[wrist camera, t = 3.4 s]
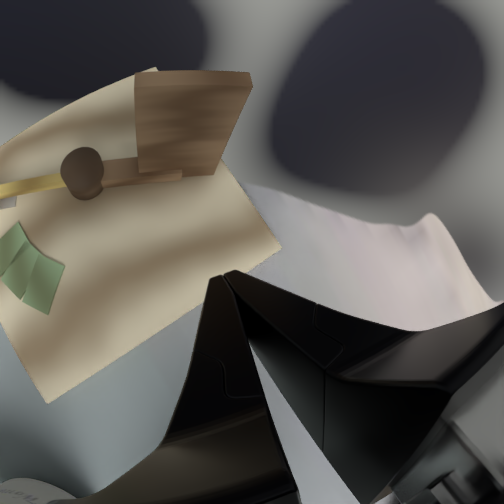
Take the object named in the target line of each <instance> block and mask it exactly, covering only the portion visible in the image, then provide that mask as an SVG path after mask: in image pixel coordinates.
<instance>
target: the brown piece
mask: <svg viewBox="0 0 504 504" xmlns="http://www.w3.org/2000/svg"><path fill="white" fill-rule="evenodd" d="M252 88H253V85H252V81H251V77H250V73H248V72H233V71H205V70H200V71H199V70H186V71H185V70H182V71H154V72H140V73H135V79H134V106H135V127H136V143H137V156H138V157H131V158H122V159H113V160H105V161H102V160H101V157H100V155H99V153H98V152H97V151H96V150H95V149H93V148H90V147H80V148H77V149H74V150H73V151H71V152H70V153H69V154H68V155H67V156H66V157H65V158H64V160H63V162H62V164H61V168H60V173H56V174H50V175H44V176H39V177H34V178H29V179H24V180H19V181H15V182H10V183H6V184H1V185H0V199H4V198H8V197H13V196H18V195H23V194H28V193H34V192H39V191H45V190H50V189H56V188H62V187H67V188H68V189H69V191H70V192H71V194H72V195H73V196H74V197H75V198H77V199H79V200H90V199H93V198H95V197H96V196H98V195H99V194H100V193H101V192H102V191H103V189H104V188H111V187H119V186H128V185H137V184H147V183H157V182H168V181H180V180H181V177H192V176H208V175H214V173H215V171H216V168H217V166H218V163H219V161H220V159H221V156H222V154H223V152H224V149H225V147H226V145H227V142H228V140H229V138H230V136H231V133H232V131H233V129H234V127H235V124H236V122H237V120H238V118H239V115H240V113H241V111H242V109H243V107H244V105H245V103H246V100H247V98H248V96H249V94H250V92H251V90H252Z"/></svg>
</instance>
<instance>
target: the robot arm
mask: <svg viewBox="0 0 504 504" xmlns="http://www.w3.org/2000/svg"><path fill="white" fill-rule="evenodd" d="M249 343H250V345H251V347H252V348H253V350H254V352H255V353H256V355H257V356H258V358H259V359H260V361H261V362H262V364H263V366H264V367H265V369H266V370H267V372H268V373H269V375H270V376H271V378H272V379H273V381H274V383H275V384H276V386H277V387H278V389H279V390H280V392H281V393H282V395H283V396H284V398H285V399H286V401H287V402H288V404H289V405H290V407H291V408H292V410H293V411H294V412H295V414H296V415H297V417H298V418H299V420H300V421H301V423H302V424H303V426H304V427H305V429H306V430H307V431H308V433H309V434H310V436H311V437H312V439H313V440H314V441H315V443H316V444H317V446H318V447H319V448H320V450H321V451H322V452H323V454H324V456H325V457H326V458H327V460H328V461H329V463H330V464H331V465H332V467H333V468H334V469H335V471H336V472H337V473H338V475H339V476H340V477H341V479H342V480H343V482H344V483H345V484H346V486H347V487H348V488H349V489H350V491H351V492H352V493H353V495H354V496H355V497H356V499H357V500H358V501H359V503H360V504H374V503H376V502H377V501H379V500H381V499H382V498H384V497H386V496H387V495H389V494H390V493H392V492H393V493H394V494H395V496H396V497H397V498H398V500H399V501H400V503H401V504H504V303H502V304H500V305H498V306H496V307H494V308H492V309H490V310H487V311H485V312H482V313H479V314H476V315H473V316H470V317H467V318H464V319H461V320H458V321H455V322H452V323H449V324H446V325H443V326H440V327H436V328H433V329H429V330H425V331H406V330H402V329H398V328H394V327H390V326H386V325H383V324H379V323H375V322H372V321H368V320H364V319H361V318H357V317H354V316H351V315H348V314H344V313H342V312H339V311H336V310H333V309H331V308H328V307H326V306H323V305H321V304H317V303H315V302H313V301H311V300H308V299H306V298H303V297H301V296H298V295H296V294H294V293H291V292H289V291H286V290H284V289H281V288H279V287H277V286H274V285H272V284H269V283H267V282H265V281H262V280H260V279H257V278H255V277H253V276H250V275H248V274H246V273H243V272H241V271H239V270H232V271H229V272H226V273H224V274H223V275H217V276H215V277H212V278H210V279H209V282H208V286H207V290H206V294H205V299H204V303H203V307H202V312H201V316H200V321H199V325H198V330H197V334H196V339H195V343H194V348H193V352H192V356H191V361H190V365H189V369H188V373H187V377H186V380H185V383H184V386H183V388H182V391H181V394H180V397H179V399H178V402H177V405H176V407H175V410H174V413H173V415H172V418H171V421H170V423H169V426H168V429H167V431H166V434H165V436H164V438H163V440H162V441H161V443H160V444H159V446H158V447H157V448H156V449H155V450H154V451H153V452H152V453H151V454H150V455H148V456H147V457H146V458H145V459H143V460H142V461H141V462H139V463H138V464H137V465H135V466H134V467H133V468H132V469H130V470H129V471H128V472H126V473H125V474H124V475H122V476H121V477H120V478H118V479H117V480H115V481H114V482H113V483H111V484H110V485H109V486H107V487H106V488H104V489H102V490H101V491H99V492H97V493H94V494H92V495H90V496H86V497H83V498H77V499H57V500H51V501H49V502H47V503H46V504H302V503H301V498H300V494H299V490H298V487H297V484H296V482H295V479H294V477H293V474H292V472H291V469H290V466H289V464H288V461H287V458H286V456H285V453H284V450H283V447H282V444H281V442H280V439H279V436H278V433H277V431H276V428H275V425H274V422H273V419H272V416H271V413H270V410H269V407H268V404H267V401H266V397H265V394H264V391H263V388H262V384H261V381H260V378H259V375H258V371H257V368H256V365H255V361H254V358H253V355H252V351H251V348H250V345H249Z"/></svg>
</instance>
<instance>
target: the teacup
mask: <svg viewBox="0 0 504 504" xmlns="http://www.w3.org/2000/svg"><path fill="white" fill-rule="evenodd" d="M57 499H77V498H75V497H74V496H72V495H71V494H69V493H67V492H65V491H64V490H62V489H60V488H58V487H56V486H53V485H51V484H48V483H46V482H42V481H39V480H35V479H30V478H14V479H10V480H7V481H5V482H3V483H2V484H0V504H46V503H47V502H49V501H51V500H57Z"/></svg>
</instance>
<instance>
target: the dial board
mask: <svg viewBox="0 0 504 504" xmlns="http://www.w3.org/2000/svg"><path fill="white" fill-rule="evenodd" d="M154 71H158V70H157V69H156V67H154V68H151V69H148V70H146V71H143V72H154ZM134 79H135V75H132V76H130V77H127V78H125V79H122V80H120V81H118V82H115V83H113V84H111V85H108V86H106V87H104V88H102V89H99V90H97V91H95V92H93V93H91V94H89V95H87V96H85V97H83V98H81V99H79V100H77V101H75V102H73V103H71V104H69V105H67V106H65V107H63V108H61V109H59V110H58V111H56V112H54V113H52V114H50V115H49V116H47V117H45V118H44V119H42V120H40V121H39V122H37V123H35V124H34V125H32V126H30V127H29V128H27V129H26V130H24V131H23V132H21V133H19V134H18V135H16V136H15V137H13V138H12V139H10V140H9V141H7V142H6V143H5V144H3V145H2V146H0V185H1V184H6V183H10V182H15V181H19V180H24V179H29V178H34V177H39V176H44V175H50V174H56V173H60V168H61V164H62V162H63V160H64V158H65V157H66V156H67V155H68V154H69V153H70V152H71V151H73V150H74V149H77V148H80V147H90V148H93V149H95V150H96V151H97V152H98V153H99V155H100V157H101V160H102V161H105V160H113V159H122V158H131V157H138V156H137V143H136V127H135V106H134ZM280 249H282V247H281V246H280V244H279V243H278V241H277V240H276V238H275V237H274V235H273V234H272V232H271V231H270V229H269V228H268V226H267V225H266V223H265V222H264V220H263V219H262V217H261V216H260V214H259V213H258V211H257V210H256V208H255V207H254V205H253V204H252V202H251V201H250V200H249V198H248V197H247V195H246V194H245V192H244V191H243V189H242V188H241V186H240V185H239V183H238V182H237V181H236V179H235V178H234V176H233V175H232V173H231V172H230V171H229V169H228V168H227V166H226V165H225V163H224V162H223V161H222V159H220V161H219V163H218V166H217V168H216V171H215V173H214V175H208V176H192V177H181V180H180V181H168V182H157V183H147V184H137V185H128V186H119V187H111V188H104V189H103V191H102V192H101V193H100V194H99V195H98V196H96V197H95V198H93V199H90V200H79V199H77V198H75V197H74V196H73V195H72V194H71V192H70V191H69V189H68V188H67V187H62V188H56V189H50V190H45V191H39V192H34V193H28V194H23V195H18V196H13V197H8V198H4V199H0V322H1V324H2V326H3V328H4V330H5V333H6V335H7V337H8V339H9V341H10V343H11V344H12V346H13V348H14V350H15V352H16V354H17V356H18V357H19V359H20V361H21V363H22V365H23V366H24V368H25V370H26V371H27V373H28V375H29V376H30V378H31V380H32V381H33V383H34V385H35V386H36V388H37V389H38V391H39V392H40V394H41V395H42V397H43V398H44V400H45V401H46V403H47V404H49V403H50V402H52V401H53V400H55V399H56V398H58V397H59V396H61V395H63V394H64V393H66V392H67V391H69V390H70V389H72V388H73V387H75V386H77V385H78V384H80V383H81V382H83V381H84V380H86V379H87V378H89V377H90V376H92V375H94V374H95V373H97V372H98V371H100V370H101V369H103V368H104V367H106V366H107V365H109V364H110V363H112V362H113V361H115V360H117V359H118V358H120V357H121V356H123V355H124V354H126V353H127V352H129V351H130V350H132V349H133V348H135V347H136V346H138V345H139V344H141V343H142V342H144V341H145V340H147V339H148V338H150V337H151V336H153V335H154V334H156V333H157V332H159V331H160V330H162V329H163V328H165V327H166V326H168V325H169V324H171V323H172V322H174V321H175V320H177V319H178V318H180V317H181V316H183V315H184V314H186V313H187V312H189V311H190V310H192V309H193V308H195V307H196V306H198V305H199V304H201V303H202V302H204V299H205V294H206V290H207V286H208V282H209V279H210V278H212V277H215V276H217V275H223V274H224V273H226V272H229V271H232V270H239V271H241V272H243V273H247V272H248V271H249V270H251V269H252V268H254V267H255V266H257V265H258V264H260V263H261V262H263V261H264V260H266V259H267V258H268V257H270V256H271V255H273V254H274V253H276V252H277V251H279V250H280Z"/></svg>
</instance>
